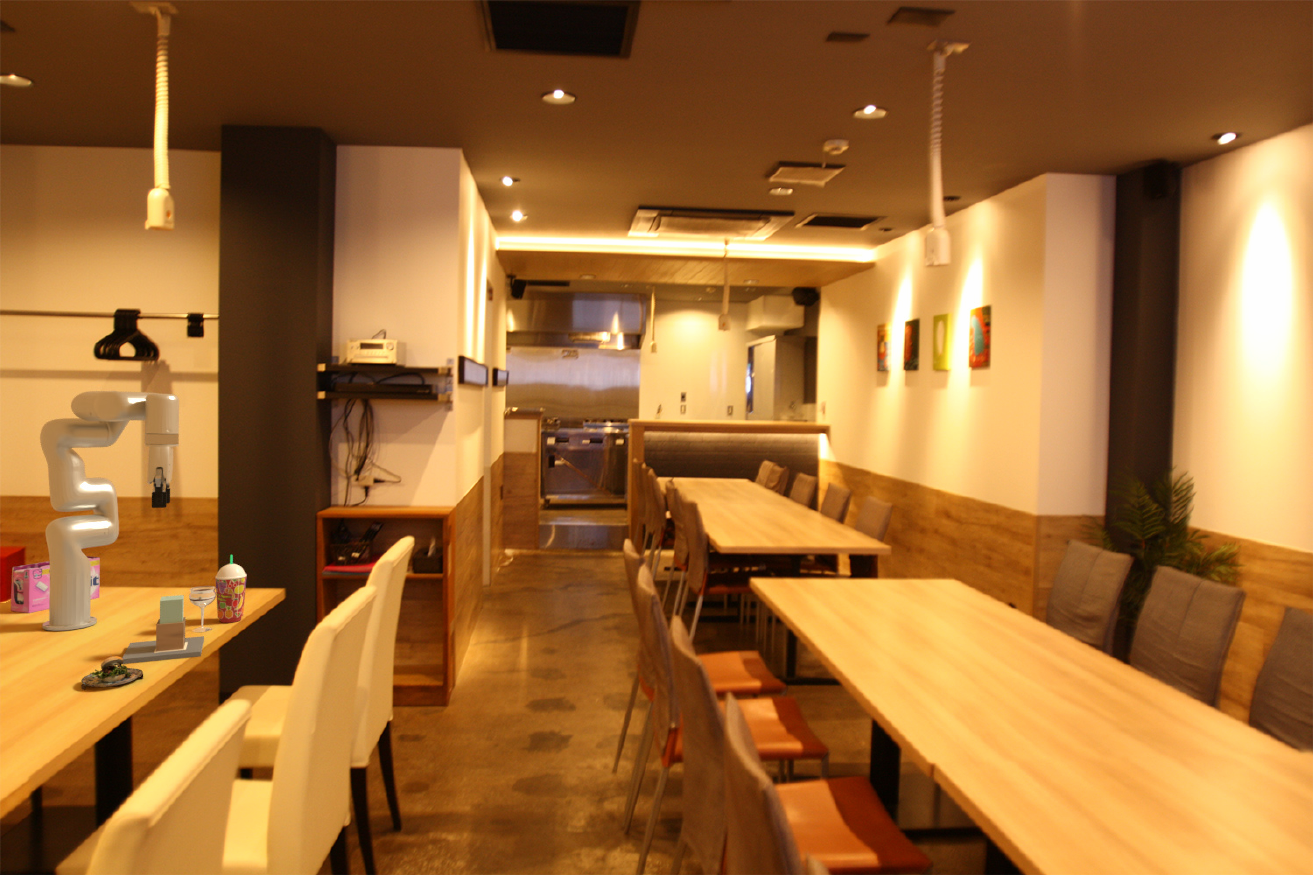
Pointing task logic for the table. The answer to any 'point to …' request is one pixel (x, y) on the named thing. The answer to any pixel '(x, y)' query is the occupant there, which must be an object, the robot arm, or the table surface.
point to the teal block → (171, 609)
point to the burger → (111, 674)
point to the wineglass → (202, 601)
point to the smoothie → (230, 592)
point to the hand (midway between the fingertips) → (161, 505)
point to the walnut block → (170, 636)
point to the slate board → (148, 651)
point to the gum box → (42, 585)
